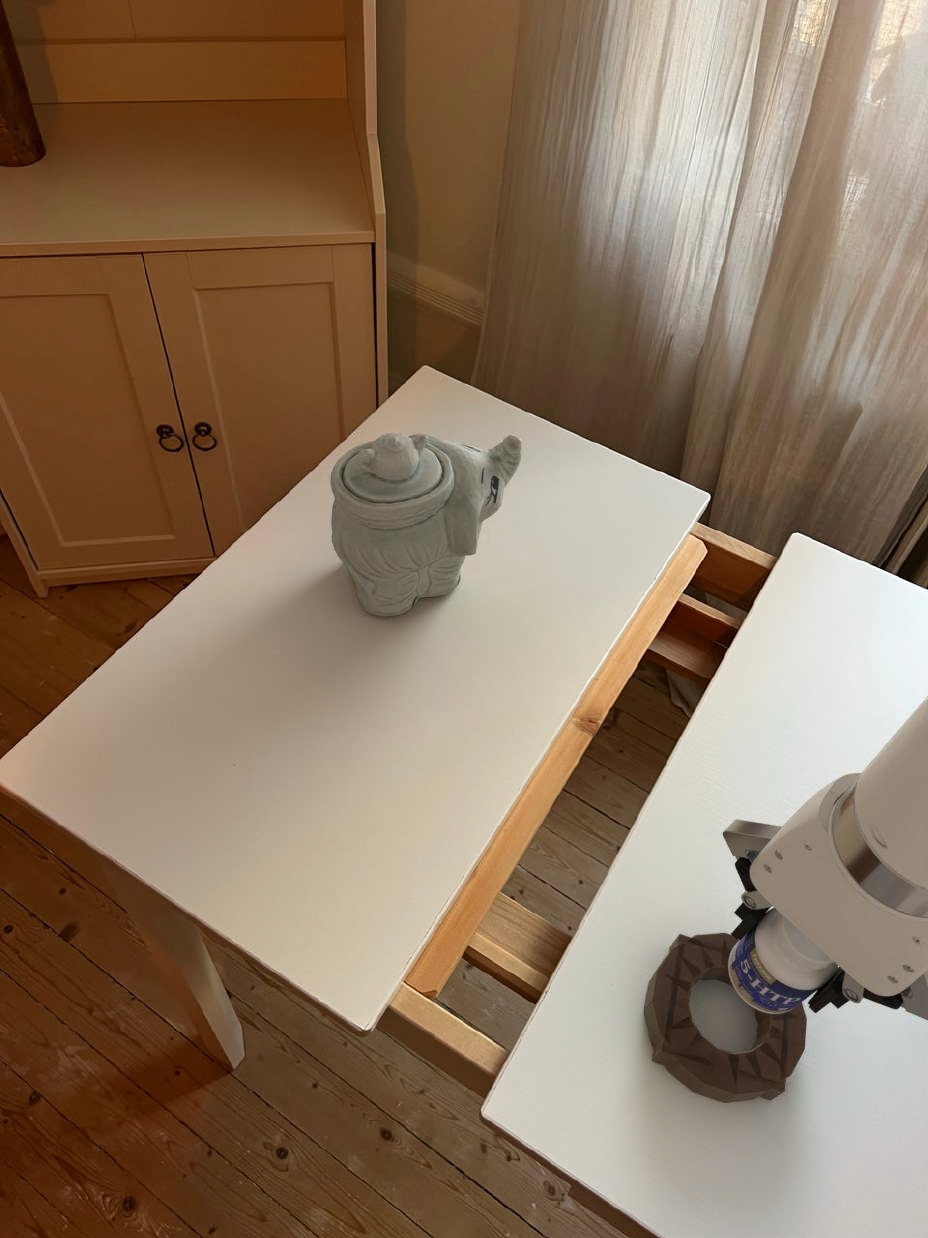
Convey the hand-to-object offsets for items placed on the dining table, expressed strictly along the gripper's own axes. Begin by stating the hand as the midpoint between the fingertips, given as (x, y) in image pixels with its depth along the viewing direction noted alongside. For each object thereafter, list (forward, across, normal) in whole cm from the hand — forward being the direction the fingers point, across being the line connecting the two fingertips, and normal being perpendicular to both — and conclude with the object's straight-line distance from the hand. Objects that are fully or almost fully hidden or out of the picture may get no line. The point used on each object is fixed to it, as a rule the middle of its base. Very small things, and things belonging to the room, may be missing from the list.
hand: (785, 956), depth 62 cm
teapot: (+15, +48, -13) cm, 52 cm away
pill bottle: (+4, 0, 0) cm, 4 cm away
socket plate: (+15, 0, 0) cm, 15 cm away
